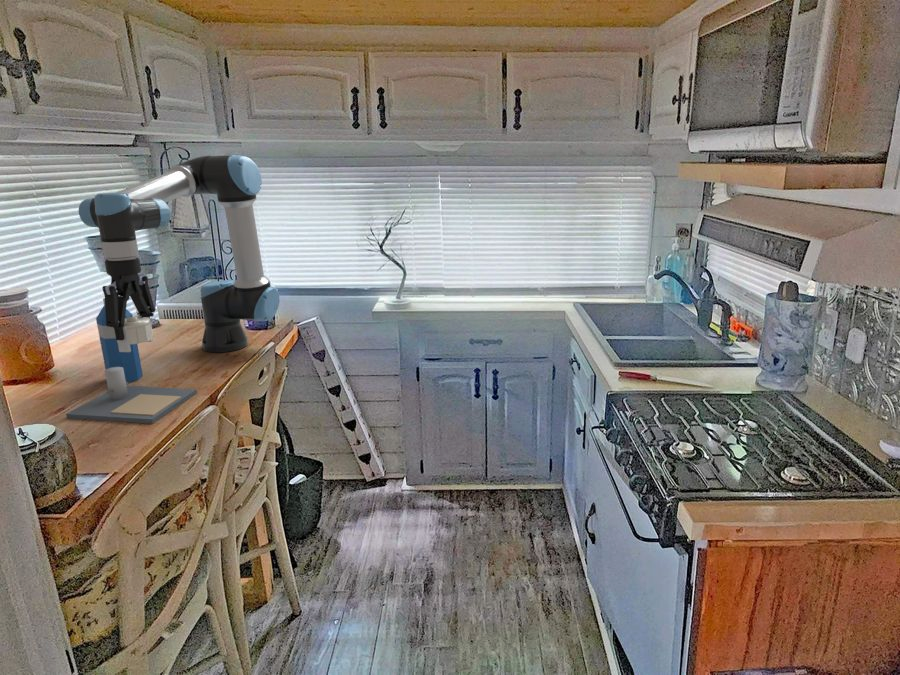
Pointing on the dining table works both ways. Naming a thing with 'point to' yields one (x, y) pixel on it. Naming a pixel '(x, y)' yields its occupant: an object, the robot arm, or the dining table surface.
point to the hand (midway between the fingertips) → (136, 346)
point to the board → (131, 401)
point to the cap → (138, 329)
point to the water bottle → (111, 349)
